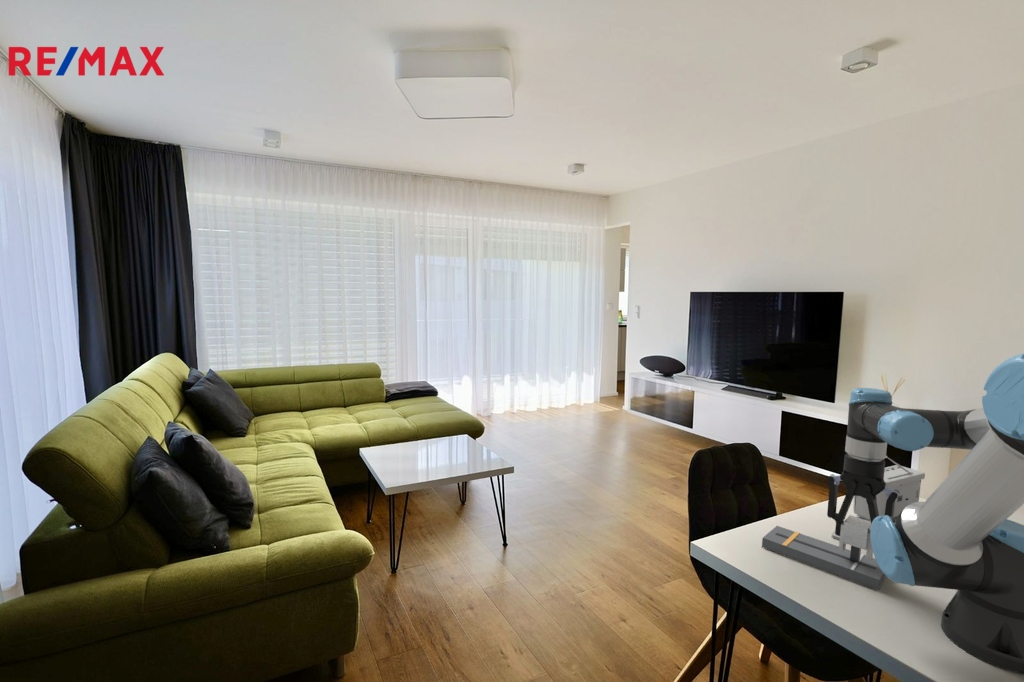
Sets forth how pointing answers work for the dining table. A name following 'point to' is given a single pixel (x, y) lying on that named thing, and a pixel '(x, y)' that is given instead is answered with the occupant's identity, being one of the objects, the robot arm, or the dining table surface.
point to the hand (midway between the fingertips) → (855, 554)
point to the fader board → (824, 556)
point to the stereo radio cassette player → (895, 479)
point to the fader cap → (856, 535)
